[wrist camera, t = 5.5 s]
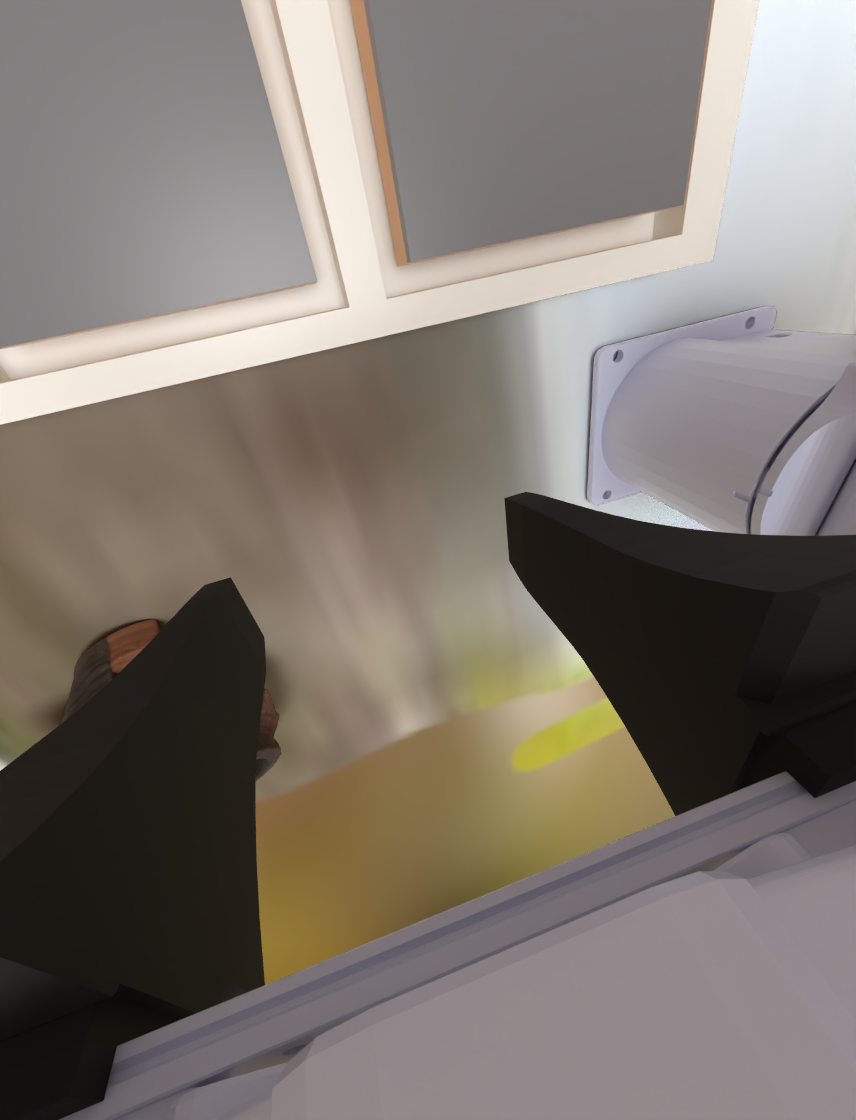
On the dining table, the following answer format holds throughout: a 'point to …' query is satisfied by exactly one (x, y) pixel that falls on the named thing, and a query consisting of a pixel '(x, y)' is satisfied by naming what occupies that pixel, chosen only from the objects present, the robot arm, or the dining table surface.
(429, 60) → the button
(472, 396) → the dining table surface
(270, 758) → the brown grey irregular piece
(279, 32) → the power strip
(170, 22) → the middle button
